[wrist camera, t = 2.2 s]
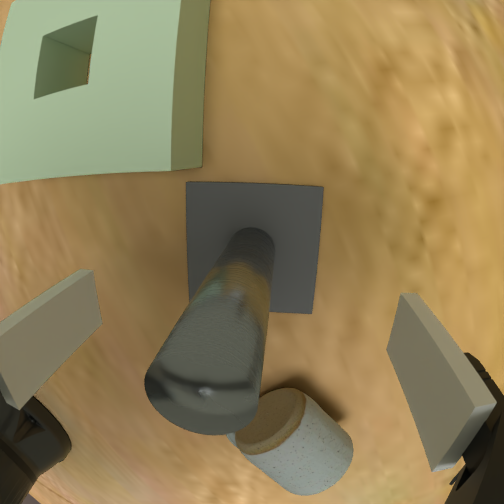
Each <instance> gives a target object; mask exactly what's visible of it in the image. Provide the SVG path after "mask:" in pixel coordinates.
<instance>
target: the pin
mask: <svg viewBox="0 0 504 504" xmlns="http://www.w3.org/2000/svg"><path fill="white" fill-rule="evenodd" d="M274 260H275V245H274V242H273V240H272V238H271V237H270V236H269V235H268V234H267V233H266V232H265V231H263V230H261V229H258V228H253V227H249V228H244V229H241V230H239V231H238V232H236V233H235V234H234V235H233V236H232V238H231V239H230V241H229V242H228V244H227V245H226V247H225V248H224V250H223V251H222V253H221V254H220V256H219V258H218V259H217V261H216V262H215V264H214V265H213V267H212V268H211V270H210V271H209V273H208V275H207V276H206V278H205V279H204V281H203V282H202V284H201V286H200V287H199V289H198V290H197V292H196V293H195V295H194V296H193V298H192V300H191V301H190V303H189V304H188V306H187V308H186V309H185V311H184V312H183V314H182V315H181V317H180V319H179V320H178V322H177V323H176V325H175V327H174V328H173V330H172V331H171V333H170V335H169V336H168V338H167V339H166V341H165V343H164V344H163V346H162V347H161V349H160V351H159V352H158V354H157V356H156V357H155V359H154V360H153V362H152V364H151V365H150V367H149V369H148V370H147V373H146V375H145V384H144V385H145V391H146V394H147V396H148V398H149V400H150V402H151V403H152V405H153V406H154V408H155V409H156V410H157V411H158V412H159V413H160V414H161V415H162V416H163V417H165V418H166V419H167V420H169V421H170V422H172V423H173V424H175V425H177V426H179V427H181V428H183V429H186V430H188V431H191V432H195V433H199V434H205V435H225V434H230V433H233V432H236V431H239V430H241V429H243V428H244V427H246V426H247V425H248V424H250V422H251V421H252V420H253V419H254V417H255V415H256V413H257V409H258V401H259V394H260V386H261V377H262V369H263V361H264V352H265V344H266V335H267V326H268V317H269V308H270V299H271V290H272V280H273V270H274Z"/></svg>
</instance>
